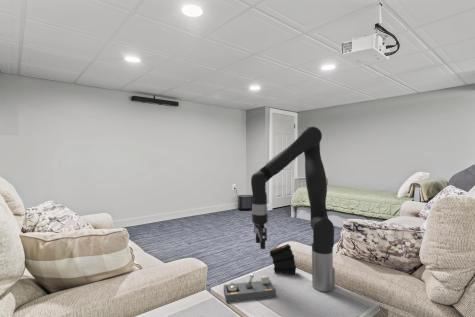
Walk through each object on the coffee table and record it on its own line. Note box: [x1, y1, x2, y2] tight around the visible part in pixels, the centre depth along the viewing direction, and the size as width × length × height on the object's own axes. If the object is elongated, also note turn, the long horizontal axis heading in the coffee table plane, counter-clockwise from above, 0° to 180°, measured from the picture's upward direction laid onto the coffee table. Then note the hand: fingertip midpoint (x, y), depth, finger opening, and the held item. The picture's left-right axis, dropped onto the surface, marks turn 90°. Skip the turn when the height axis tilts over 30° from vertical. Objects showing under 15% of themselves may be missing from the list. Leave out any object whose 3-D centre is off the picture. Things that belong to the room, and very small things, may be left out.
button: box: [228, 282, 238, 293], centre depth 117 cm, size 4×4×3 cm
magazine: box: [269, 243, 297, 276], centre depth 138 cm, size 4×13×15 cm, turn 72°
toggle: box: [248, 273, 255, 284], centre depth 118 cm, size 2×2×4 cm
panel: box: [223, 279, 277, 303], centre depth 118 cm, size 22×9×4 cm, turn 100°
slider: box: [260, 274, 270, 284], centre depth 121 cm, size 3×2×3 cm, turn 100°
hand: (260, 245), depth 128 cm, fingers open, 8 cm apart
